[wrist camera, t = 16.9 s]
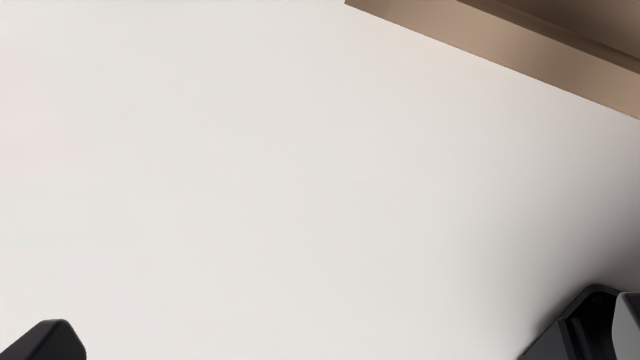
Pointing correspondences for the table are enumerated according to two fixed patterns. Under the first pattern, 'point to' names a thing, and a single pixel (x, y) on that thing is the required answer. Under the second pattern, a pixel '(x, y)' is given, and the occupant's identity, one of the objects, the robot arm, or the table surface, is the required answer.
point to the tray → (538, 39)
